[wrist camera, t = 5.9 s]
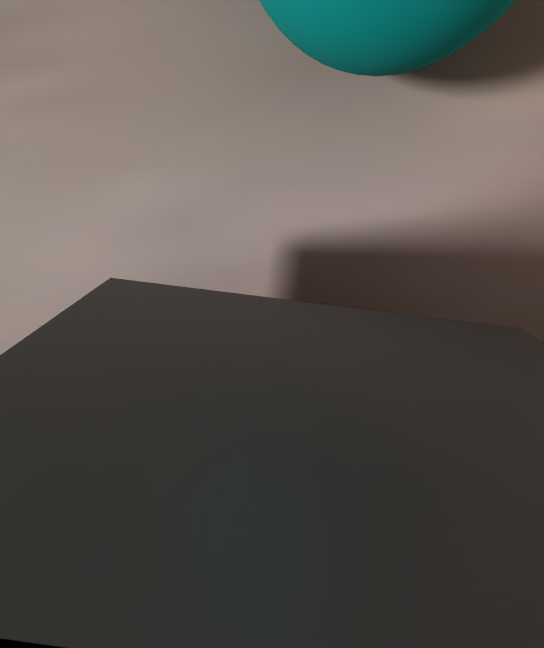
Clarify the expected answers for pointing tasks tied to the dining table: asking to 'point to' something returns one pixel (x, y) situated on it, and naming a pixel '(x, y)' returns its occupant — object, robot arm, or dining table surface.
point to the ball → (382, 30)
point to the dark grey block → (269, 477)
